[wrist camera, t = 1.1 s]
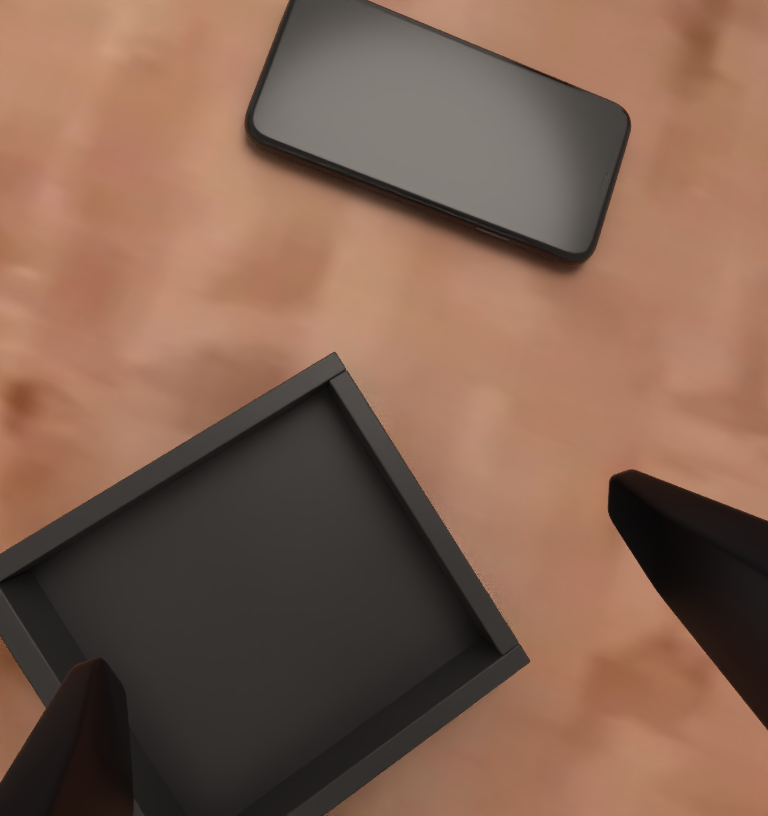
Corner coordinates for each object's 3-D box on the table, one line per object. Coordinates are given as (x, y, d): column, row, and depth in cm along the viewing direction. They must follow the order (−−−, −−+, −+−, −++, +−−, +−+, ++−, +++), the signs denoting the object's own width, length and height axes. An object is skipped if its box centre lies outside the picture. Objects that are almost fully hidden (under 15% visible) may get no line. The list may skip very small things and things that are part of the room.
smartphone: (237, 144, 25) (582, 275, 27) (235, 133, 25) (592, 269, 26) (299, -17, 26) (629, 119, 28) (299, -33, 25) (640, 108, 27)
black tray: (503, 637, 25) (531, 662, 22) (197, 860, 23) (181, 922, 20) (331, 363, 25) (335, 351, 22) (6, 560, 23) (-39, 577, 20)
